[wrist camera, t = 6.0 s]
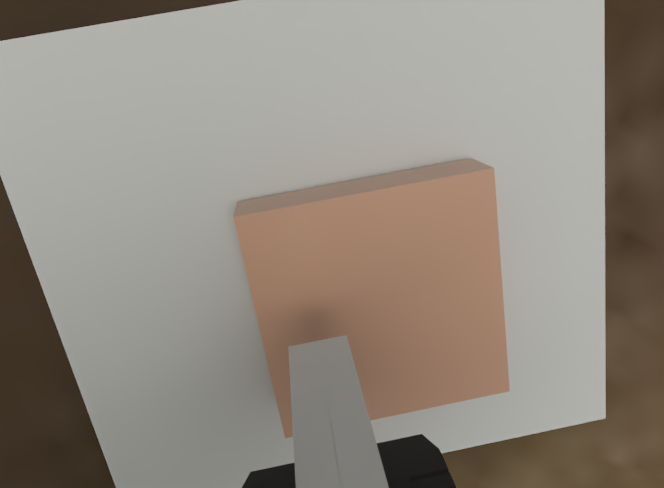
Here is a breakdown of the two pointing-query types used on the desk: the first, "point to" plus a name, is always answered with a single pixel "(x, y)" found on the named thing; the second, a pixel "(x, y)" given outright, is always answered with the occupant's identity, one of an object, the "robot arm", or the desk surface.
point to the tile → (384, 283)
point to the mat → (291, 175)
